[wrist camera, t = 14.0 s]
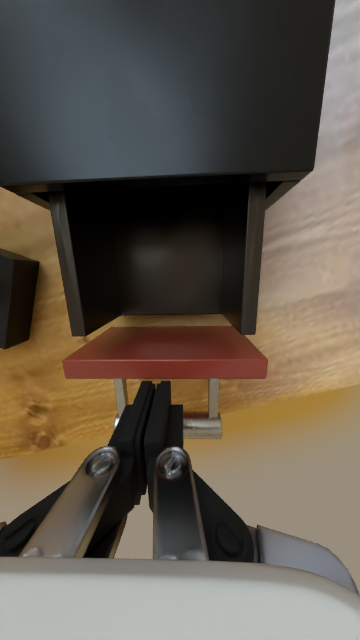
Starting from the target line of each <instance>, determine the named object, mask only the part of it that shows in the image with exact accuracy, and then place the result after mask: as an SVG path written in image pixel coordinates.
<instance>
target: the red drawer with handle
mask: <svg viewBox="0 0 360 640" xmlns="http://www.w3.org/2000/svg"><path fill="white" fill-rule="evenodd" d="M266 189H267V181H266V182H245V183H224V184H202V185H181V186H159V187H138V188H117V189H95V190H74V191H52V192H47V193H48V199H49V204H50V210H51V216H52V222H53V228H54V233H55V239H56V245H57V251H58V257H59V263H60V268H61V274H62V280H63V286H64V292H65V297H66V303H67V309H68V315H69V321H70V326H71V332H72V336H87V335H89V334H90V333H92V332H94V331H95V330H97V329H99V328H100V327H102V326H104V325H105V324H107V323H109V322H111V321H112V320H114V319H116V318H117V317H119V316H121V315H176V314H222V315H223V316H224V317H225V318H226V319H227V320H228V321H229V322H230V323H231V325H232V326H175V327H111V328H109V329H108V330H106V331H105V332H103V333H102V334H101V335H99V336H98V337H96V338H95V339H93V340H92V341H90V342H89V343H87V344H86V345H84V346H83V347H81V348H80V349H78V350H77V351H75V352H74V353H72V354H71V355H69V356H68V357H66V358H65V359H63V360H62V363H63V368H64V373H65V378H66V379H114V384H115V392H116V400H117V408H118V413H117V416H116V418H115V422H114V430H115V428H116V426H117V423H118V421H119V419H120V417H121V415H122V412H123V410H124V408H125V406H126V405H129V402H128V393H127V383H126V379H208V411H183V438H189V439H221V438H222V422H221V416H220V413H219V412H218V400H219V379H265V378H266V374H267V363H268V359H267V358H266V357H265V356H264V355H263V354H262V353H261V352H260V351H259V350H258V349H257V348H256V347H255V346H254V345H253V344H252V342H251V341H250V340H249V339H248V338H247V337H246V336H245V335H255V332H256V319H257V306H258V293H259V280H260V267H261V254H262V241H263V228H264V215H265V202H266Z"/></svg>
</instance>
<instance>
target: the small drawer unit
mask: <svg viewBox="0 0 360 640" xmlns="http://www.w3.org/2000/svg"><path fill="white" fill-rule="evenodd" d="M334 7H335V0H0V187H2V188H4V189H6V190H9V191H11V192H13V193H15V194H16V195H19V196H21V197H23V198H25V199H27V200H29V201H31V202H33V203H35V204H37V205H40V206H42V207H44V208H46V209H48V210H50V204H49V199H48V193H47V192H52V191H74V190H95V189H117V188H138V187H159V186H181V185H202V184H224V183H245V182H266V181H267V189H266V202H265V210H267V209H268V208H269V207H270V206H271V205H273V204H274V203H275V202H276V201H277V200H278V199H280V198H281V197H282V196H283V195H284V194H286V193H287V192H288V191H289V190H290V189H292V188H293V187H294V186H295V185H296V184H298V183H299V182H300V181H301V180H302V179H303V178H304V177H306V176H307V175H308V174H309V173H310V172H312V171H313V169H314V163H315V156H316V148H317V140H318V132H319V124H320V116H321V109H322V101H323V93H324V85H325V77H326V69H327V62H328V54H329V46H330V38H331V30H332V22H333V14H334ZM50 211H51V210H50Z"/></svg>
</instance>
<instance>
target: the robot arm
mask: <svg viewBox="0 0 360 640" xmlns="http://www.w3.org/2000/svg"><path fill="white" fill-rule="evenodd" d="M147 484H148V495H149V506H150V509H151V510H152V512H153V559H114V556H115V553H116V550H117V547H118V544H119V542H120V539H121V536H122V533H123V530H124V527H125V524H126V520H127V514H128V513H129V512H130V511H131V510H132V509H133V508H134V505H139V504H140V499H141V495H145V493H146V489H147ZM0 640H360V595H359V592H358V590H357V587H356V585H355V583H354V580H353V579H352V577H351V575H350V573H349V571H348V570H347V568H346V567H345V565H344V564H343V563H342V562H341V560H340V559H339V558H338V557H337V556H336V555H335V554H333V553H332V552H331V551H330V550H329V549H328V548H326V547H324V546H322V545H320V544H317V543H314V542H311V541H307V540H305V539H301V538H298V537H295V536H292V535H288V534H285V533H282V532H279V531H275V530H272V529H269V528H266V527H263V526H260V525H257V528H254V527H251V526H248V525H246V524H245V523H244V522H243V520H242V519H241V518H240V517H239V516H238V515H237V514H236V513H235V512H234V511H233V510H232V509H231V508H230V507H229V506H228V505H227V504H226V503H225V502H224V501H223V500H222V499H221V498H220V497H219V496H218V495H217V494H216V493H215V492H214V491H213V490H212V489H211V488H210V487H209V486H208V485H207V484H206V483H205V482H204V481H203V480H202V479H201V478H200V477H199V476H198V475H197V474H196V473H195V472H194V471H193V470H192V466H191V461H190V457H189V455H188V453H187V452H186V451H185V450H184V449H183V405H171V383H170V381H161V383H160V384H157V387H156V388H155V384H152V381H142V382H141V385H140V387H139V390H138V392H137V395H136V397H135V400H134V403H133V405H126V406H125V408H124V410H123V412H122V415H121V417H120V419H119V421H118V423H117V426H116V428H115V430H114V432H113V435H112V437H111V439H110V441H109V444H108V446H104V447H100V448H98V449H96V450H94V451H93V452H92V453H90V454H89V455H88V457H87V458H86V459H85V460H84V462H83V463H82V464H81V466H80V467H79V469H78V470H77V472H76V473H75V475H74V476H73V478H72V479H71V480H70V481H69V482H67V483H66V484H65V485H63V486H62V487H60V488H59V489H57V490H56V491H54V492H53V493H51V494H50V495H49V496H47V497H46V498H44V499H43V500H41V501H40V502H38V503H37V504H36V505H34V506H33V507H31V508H30V509H28V510H27V511H25V512H24V513H22V514H21V515H19V516H18V517H17V518H16V519H15V520H13V521H12V522H11V523H10V524H8V525H7V524H6V522H1V523H0Z"/></svg>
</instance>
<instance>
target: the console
mask: <svg viewBox="0 0 360 640" xmlns="http://www.w3.org/2000/svg"><path fill="white" fill-rule="evenodd" d="M38 268H39V261H36V260H33V259H30V258H27V257H24V256H21V255H18V254H15V253H12V252H9V251H6V250H3V249H1V248H0V348H2V349H7V348H10V347H12V346H15V345H17V344H20V343H22V342H25V341H27V340H29V333H30V326H31V319H32V312H33V304H34V297H35V290H36V282H37V275H38Z"/></svg>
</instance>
